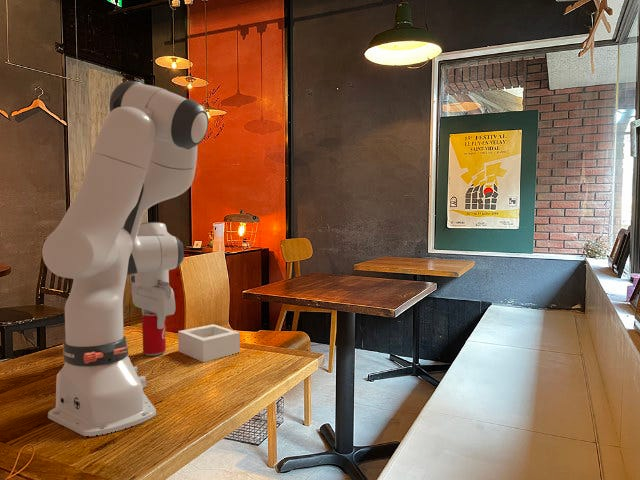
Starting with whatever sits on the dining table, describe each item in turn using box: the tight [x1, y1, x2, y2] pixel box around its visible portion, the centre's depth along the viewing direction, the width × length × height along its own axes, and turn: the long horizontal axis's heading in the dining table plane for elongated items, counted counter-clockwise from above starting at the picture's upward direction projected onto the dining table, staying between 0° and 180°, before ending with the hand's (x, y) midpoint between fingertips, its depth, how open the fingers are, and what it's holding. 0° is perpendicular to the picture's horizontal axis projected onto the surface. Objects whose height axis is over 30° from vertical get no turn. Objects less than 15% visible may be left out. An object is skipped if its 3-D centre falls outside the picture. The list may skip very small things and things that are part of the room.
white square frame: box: [177, 323, 241, 363], centre depth 137 cm, size 14×12×6 cm
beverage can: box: [141, 311, 167, 357], centre depth 136 cm, size 6×6×12 cm
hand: (153, 325), depth 135 cm, fingers closed on beverage can, 6 cm apart
